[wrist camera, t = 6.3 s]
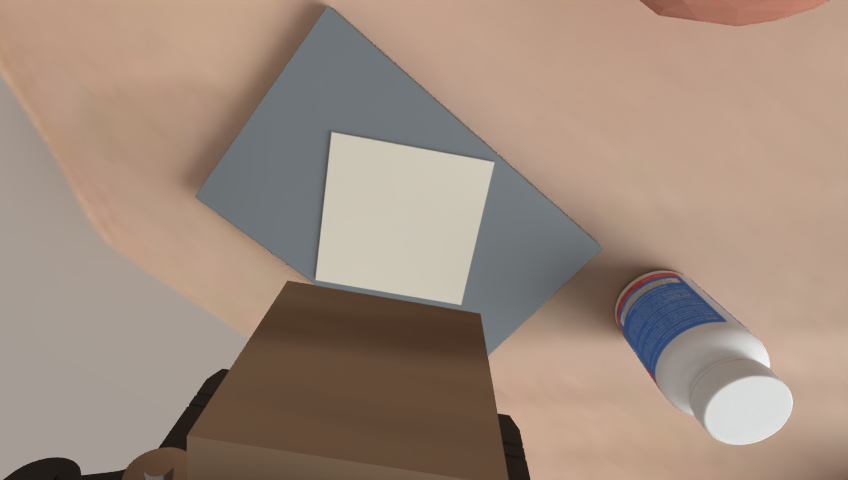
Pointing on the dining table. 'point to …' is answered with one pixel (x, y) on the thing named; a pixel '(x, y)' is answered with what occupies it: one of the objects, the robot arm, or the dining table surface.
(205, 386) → the robot arm
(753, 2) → the decorative flower
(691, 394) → the pill bottle
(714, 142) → the dining table surface
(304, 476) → the walnut block
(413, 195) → the slate board
